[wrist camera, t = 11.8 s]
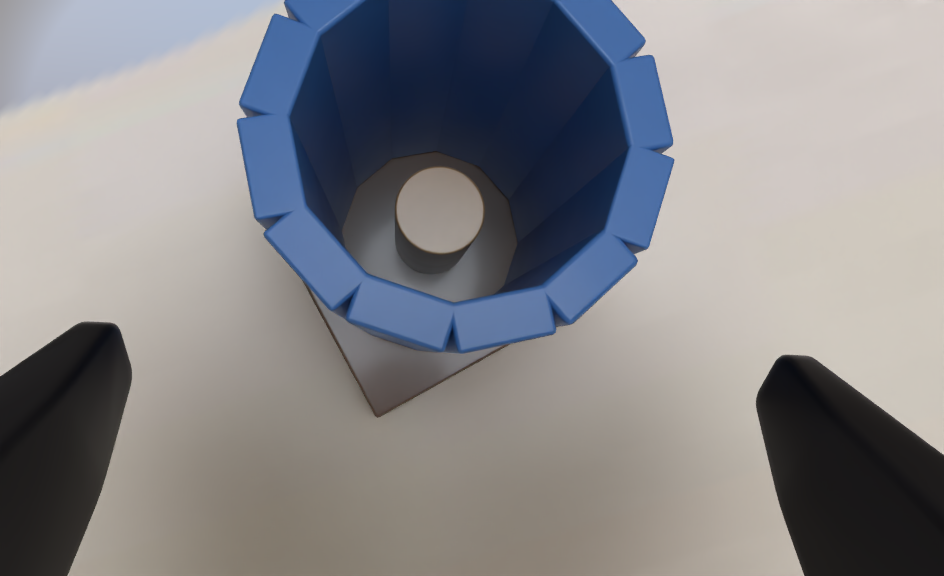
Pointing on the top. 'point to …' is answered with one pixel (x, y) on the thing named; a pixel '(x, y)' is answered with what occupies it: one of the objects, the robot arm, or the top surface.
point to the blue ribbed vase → (460, 149)
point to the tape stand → (422, 263)
